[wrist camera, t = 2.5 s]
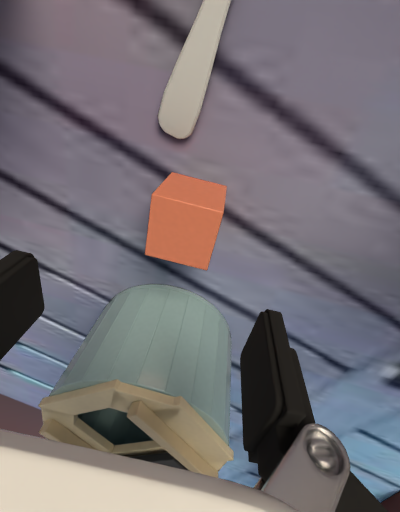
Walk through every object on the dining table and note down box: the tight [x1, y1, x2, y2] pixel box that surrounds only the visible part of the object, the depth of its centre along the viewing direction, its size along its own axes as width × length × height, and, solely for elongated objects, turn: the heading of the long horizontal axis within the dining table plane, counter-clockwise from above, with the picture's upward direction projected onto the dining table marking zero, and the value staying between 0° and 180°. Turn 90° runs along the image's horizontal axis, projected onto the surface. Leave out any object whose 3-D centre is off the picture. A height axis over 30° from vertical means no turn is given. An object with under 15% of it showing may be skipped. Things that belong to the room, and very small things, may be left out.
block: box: [145, 172, 227, 270], centre depth 18 cm, size 4×4×5 cm
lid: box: [39, 379, 233, 478], centre depth 19 cm, size 13×13×2 cm
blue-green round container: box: [49, 284, 232, 446], centre depth 24 cm, size 14×14×10 cm
